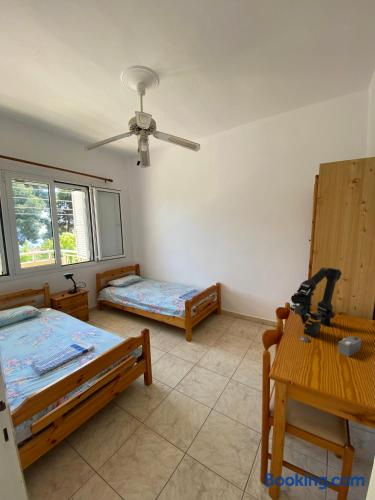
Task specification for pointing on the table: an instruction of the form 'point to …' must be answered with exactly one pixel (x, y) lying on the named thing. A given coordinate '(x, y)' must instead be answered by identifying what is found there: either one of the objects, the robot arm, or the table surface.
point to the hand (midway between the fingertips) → (303, 324)
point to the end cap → (312, 328)
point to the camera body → (349, 345)
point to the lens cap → (304, 339)
